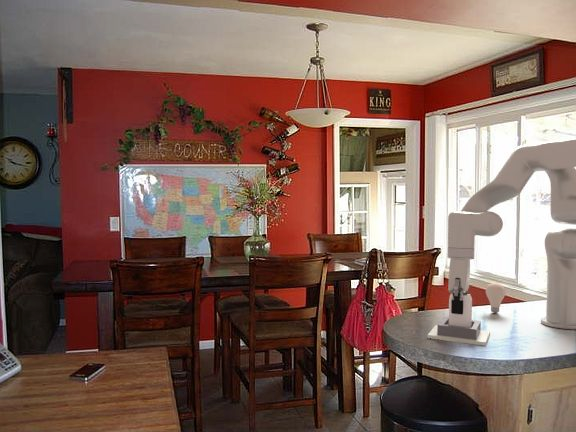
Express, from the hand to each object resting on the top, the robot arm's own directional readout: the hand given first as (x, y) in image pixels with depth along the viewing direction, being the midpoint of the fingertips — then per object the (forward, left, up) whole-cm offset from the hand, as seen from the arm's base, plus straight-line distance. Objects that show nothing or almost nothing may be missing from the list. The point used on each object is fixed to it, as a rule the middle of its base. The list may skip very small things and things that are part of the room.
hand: (459, 310), depth 148 cm
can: (0, 0, -7) cm, 7 cm away
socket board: (0, 0, -8) cm, 8 cm away
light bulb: (-7, -37, -8) cm, 38 cm away
